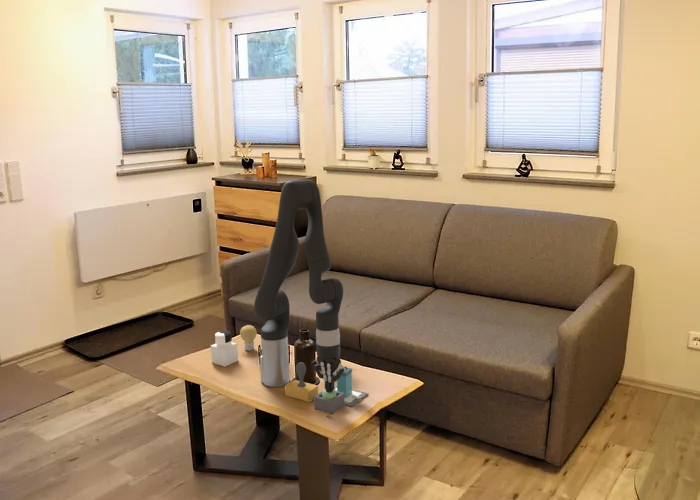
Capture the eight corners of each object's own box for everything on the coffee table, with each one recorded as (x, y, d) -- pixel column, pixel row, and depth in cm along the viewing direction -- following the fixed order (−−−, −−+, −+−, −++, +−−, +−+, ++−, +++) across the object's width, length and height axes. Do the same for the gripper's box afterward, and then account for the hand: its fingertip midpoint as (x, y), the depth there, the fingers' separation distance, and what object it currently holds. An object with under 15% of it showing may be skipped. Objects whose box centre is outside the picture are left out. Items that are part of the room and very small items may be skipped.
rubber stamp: (318, 395, 221) (317, 362, 218) (308, 402, 216) (307, 368, 213) (295, 389, 226) (293, 356, 223) (284, 395, 221) (283, 362, 218)
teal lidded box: (336, 395, 219) (336, 370, 217) (342, 391, 222) (342, 366, 220) (346, 398, 217) (345, 372, 215) (352, 393, 220) (352, 368, 218)
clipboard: (321, 398, 219) (321, 395, 218) (337, 386, 227) (337, 384, 227) (351, 406, 212) (351, 404, 212) (367, 394, 221) (367, 391, 220)
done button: (319, 404, 211) (319, 392, 210) (327, 398, 215) (327, 387, 214) (331, 407, 209) (331, 395, 208) (339, 401, 213) (339, 390, 212)
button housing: (314, 409, 211) (314, 396, 210) (326, 400, 217) (326, 388, 216) (332, 414, 208) (332, 401, 206) (344, 405, 213) (344, 392, 212)
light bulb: (260, 349, 261) (259, 325, 259) (248, 353, 257) (246, 329, 254) (250, 345, 265) (249, 321, 263) (238, 349, 261) (236, 326, 259)
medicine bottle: (225, 356, 254) (223, 327, 252) (238, 360, 250) (236, 331, 247) (211, 363, 249) (209, 333, 246) (224, 367, 245) (222, 337, 242)
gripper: (304, 341, 207) (306, 391, 211) (339, 348, 200) (340, 400, 204) (317, 333, 213) (319, 382, 217) (352, 340, 206) (353, 391, 211)
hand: (329, 391), depth 211 cm, fingers closed
